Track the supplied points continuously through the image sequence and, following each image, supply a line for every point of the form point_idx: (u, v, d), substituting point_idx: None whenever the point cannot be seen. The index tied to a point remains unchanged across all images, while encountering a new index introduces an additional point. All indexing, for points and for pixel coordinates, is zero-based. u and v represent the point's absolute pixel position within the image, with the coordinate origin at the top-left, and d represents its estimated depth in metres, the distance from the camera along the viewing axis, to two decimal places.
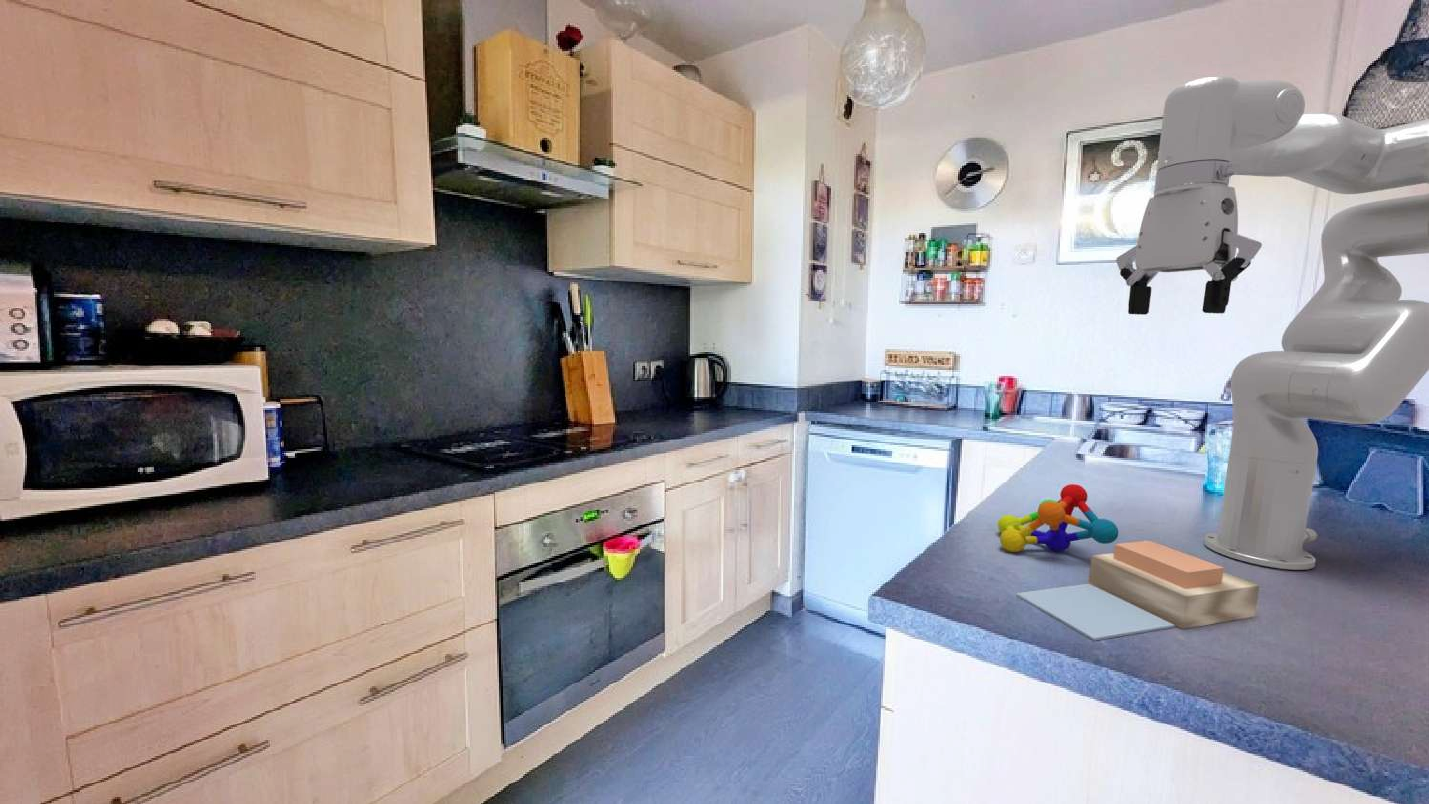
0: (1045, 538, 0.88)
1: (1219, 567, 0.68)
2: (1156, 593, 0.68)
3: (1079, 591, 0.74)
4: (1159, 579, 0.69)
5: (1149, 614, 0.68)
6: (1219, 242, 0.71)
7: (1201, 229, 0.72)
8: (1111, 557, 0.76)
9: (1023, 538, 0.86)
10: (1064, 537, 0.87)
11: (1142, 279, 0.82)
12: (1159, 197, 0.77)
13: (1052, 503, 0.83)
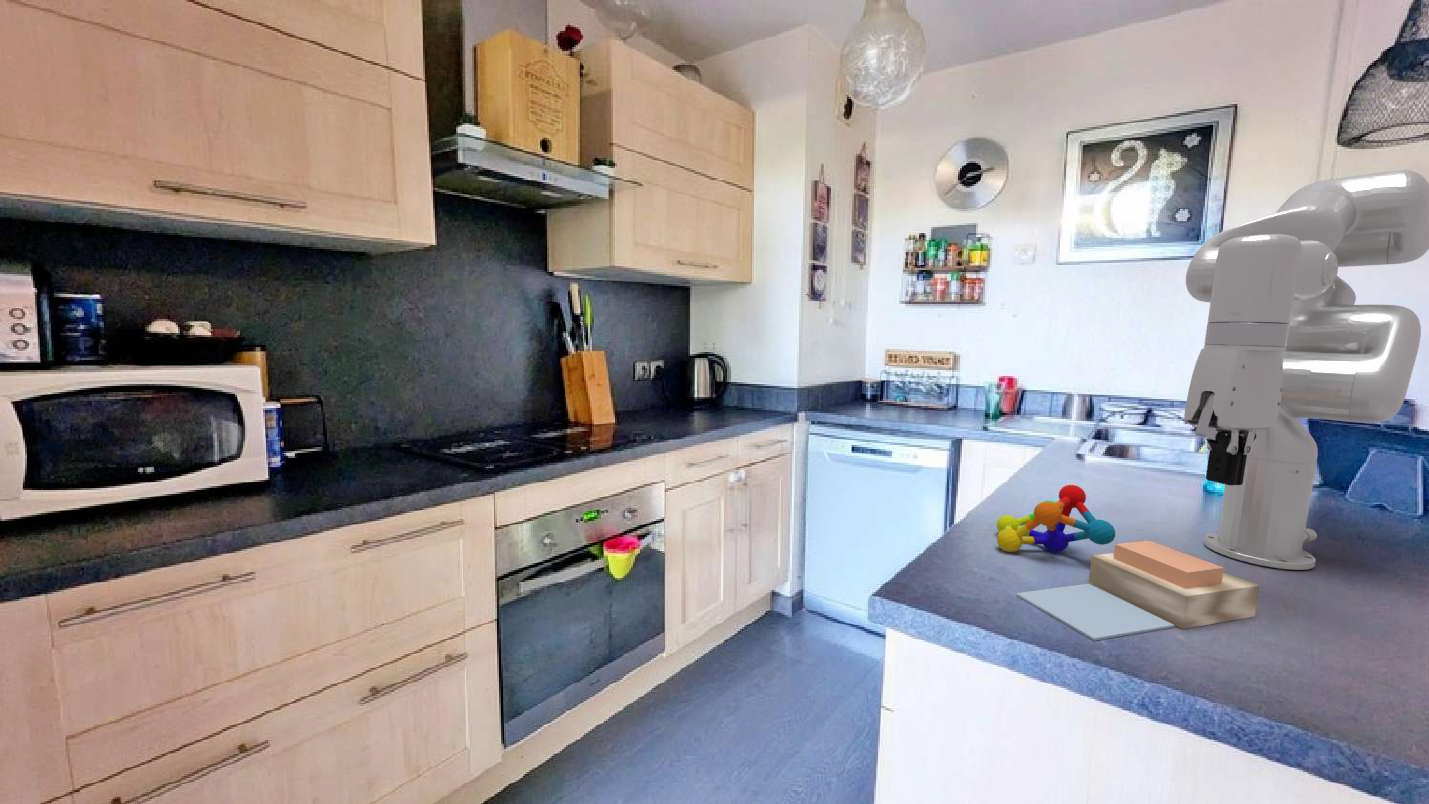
0: (1042, 538, 0.88)
1: (1219, 567, 0.68)
2: (1156, 593, 0.68)
3: (1079, 591, 0.74)
4: (1159, 579, 0.69)
5: (1149, 614, 0.68)
6: None
7: (1277, 394, 0.70)
8: (1111, 557, 0.76)
9: (1019, 538, 0.86)
10: (1062, 538, 0.86)
11: None
12: (1253, 352, 0.68)
13: (1048, 503, 0.83)
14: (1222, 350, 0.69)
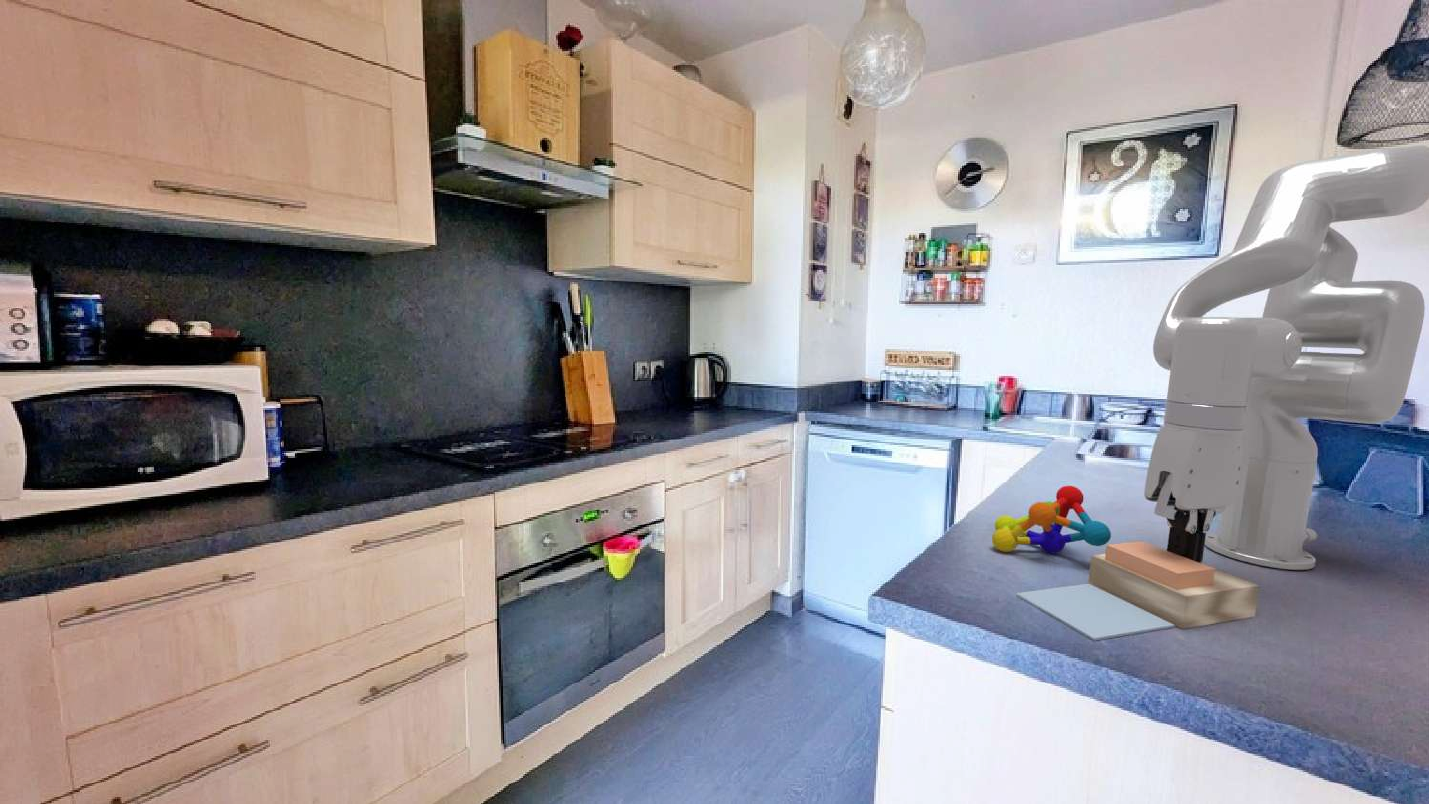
0: (1039, 539, 0.87)
1: (1210, 568, 0.68)
2: (1156, 593, 0.68)
3: (1079, 591, 0.74)
4: None
5: (1149, 614, 0.68)
6: None
7: (1236, 473, 0.70)
8: None
9: (1014, 538, 0.86)
10: (1058, 539, 0.86)
11: None
12: (1210, 434, 0.68)
13: (1043, 504, 0.83)
14: (1179, 431, 0.69)
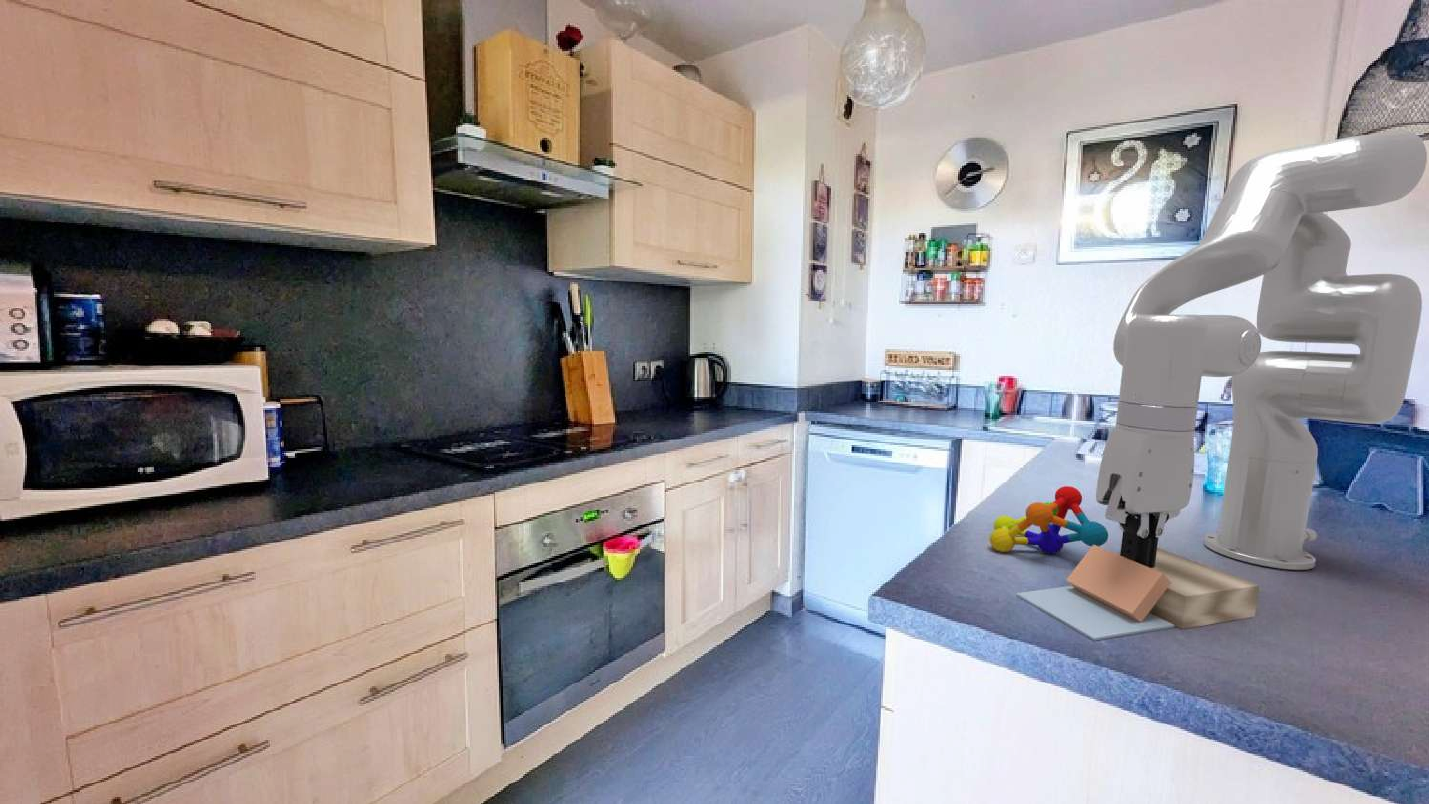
0: (1036, 539, 0.87)
1: (1159, 575, 0.66)
2: None
3: (1079, 591, 0.74)
4: None
5: (1149, 614, 0.68)
6: None
7: (1188, 475, 0.68)
8: None
9: (1012, 538, 0.86)
10: (1056, 539, 0.86)
11: None
12: (1160, 436, 0.65)
13: (1040, 504, 0.83)
14: (1129, 433, 0.67)
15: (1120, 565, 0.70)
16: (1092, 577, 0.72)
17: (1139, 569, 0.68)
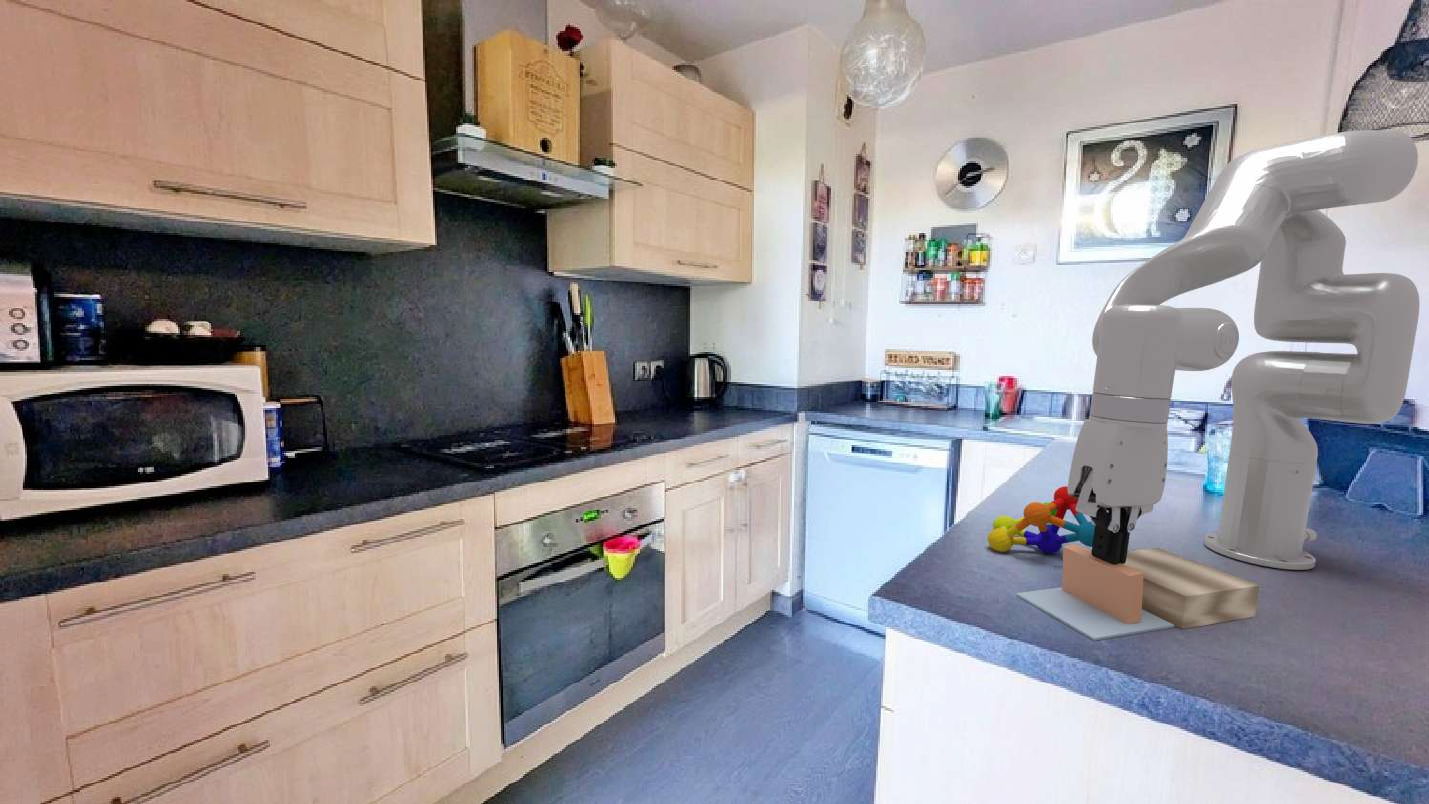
0: (1035, 539, 0.87)
1: (1128, 579, 0.65)
2: (1156, 593, 0.68)
3: None
4: (1159, 579, 0.69)
5: (1149, 614, 0.68)
6: None
7: (1161, 470, 0.67)
8: None
9: (1010, 538, 0.86)
10: (1054, 539, 0.86)
11: None
12: (1132, 427, 0.64)
13: (1037, 504, 0.83)
14: (1101, 424, 0.66)
15: (1094, 569, 0.69)
16: (1079, 585, 0.71)
17: (1110, 573, 0.67)
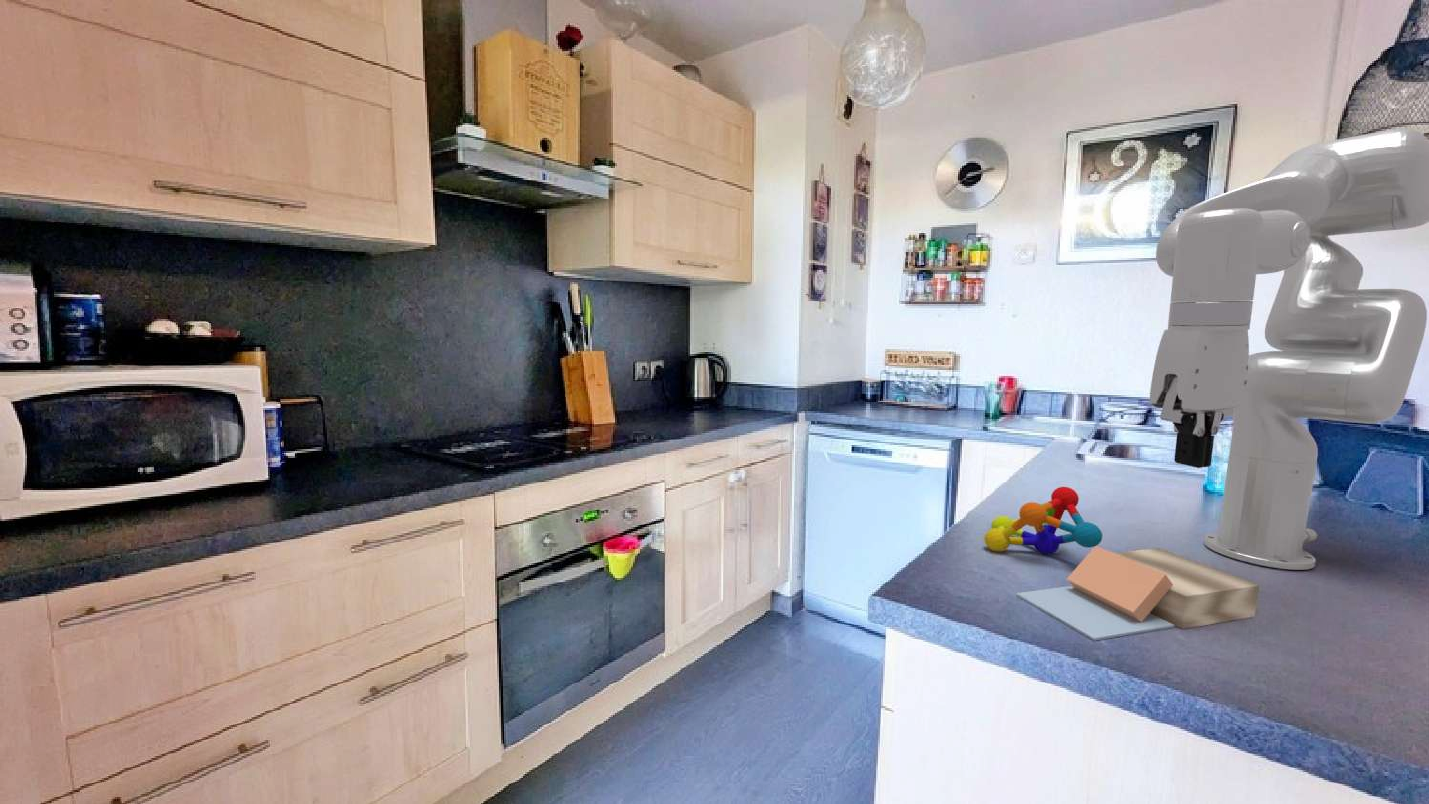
0: (1032, 540, 0.87)
1: (1161, 576, 0.66)
2: None
3: (1079, 591, 0.74)
4: None
5: (1149, 614, 0.68)
6: None
7: (1243, 372, 0.68)
8: None
9: (1006, 538, 0.86)
10: (1051, 540, 0.86)
11: None
12: (1216, 332, 0.66)
13: (1033, 504, 0.83)
14: (1184, 331, 0.67)
15: (1122, 566, 0.70)
16: (1093, 577, 0.72)
17: (1141, 570, 0.68)
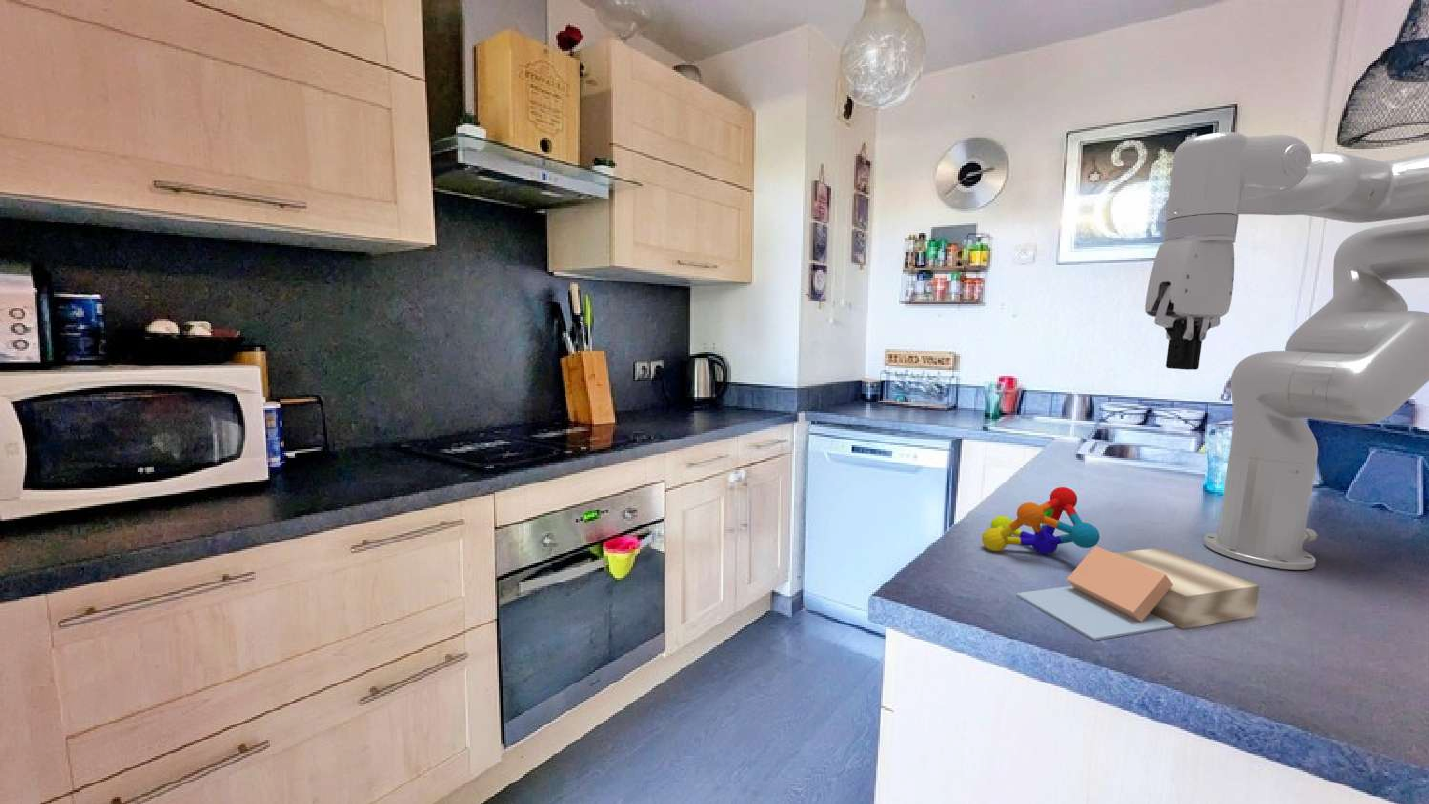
0: (1030, 540, 0.87)
1: (1161, 576, 0.66)
2: None
3: (1079, 591, 0.74)
4: None
5: (1149, 614, 0.68)
6: None
7: (1229, 283, 0.76)
8: None
9: (1003, 538, 0.86)
10: (1049, 540, 0.85)
11: None
12: (1205, 242, 0.74)
13: (1030, 504, 0.83)
14: (1177, 242, 0.75)
15: (1122, 566, 0.70)
16: (1093, 577, 0.72)
17: (1141, 570, 0.68)
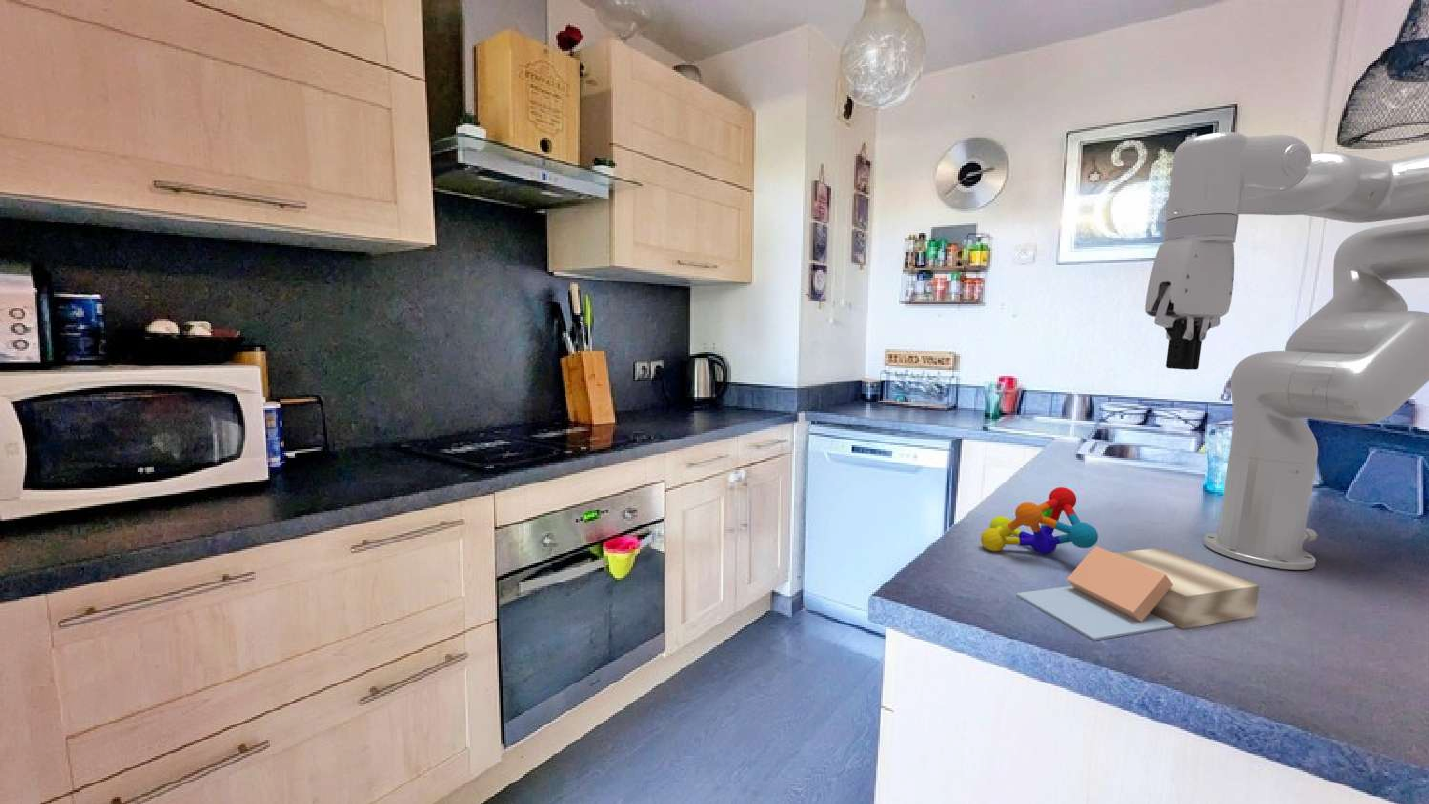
0: (1029, 540, 0.87)
1: (1161, 576, 0.66)
2: None
3: (1079, 591, 0.74)
4: None
5: (1149, 614, 0.68)
6: None
7: (1229, 283, 0.76)
8: None
9: (1002, 538, 0.86)
10: (1048, 540, 0.85)
11: None
12: (1205, 242, 0.74)
13: (1029, 503, 0.83)
14: (1177, 242, 0.75)
15: (1122, 566, 0.70)
16: (1093, 577, 0.72)
17: (1141, 570, 0.68)
